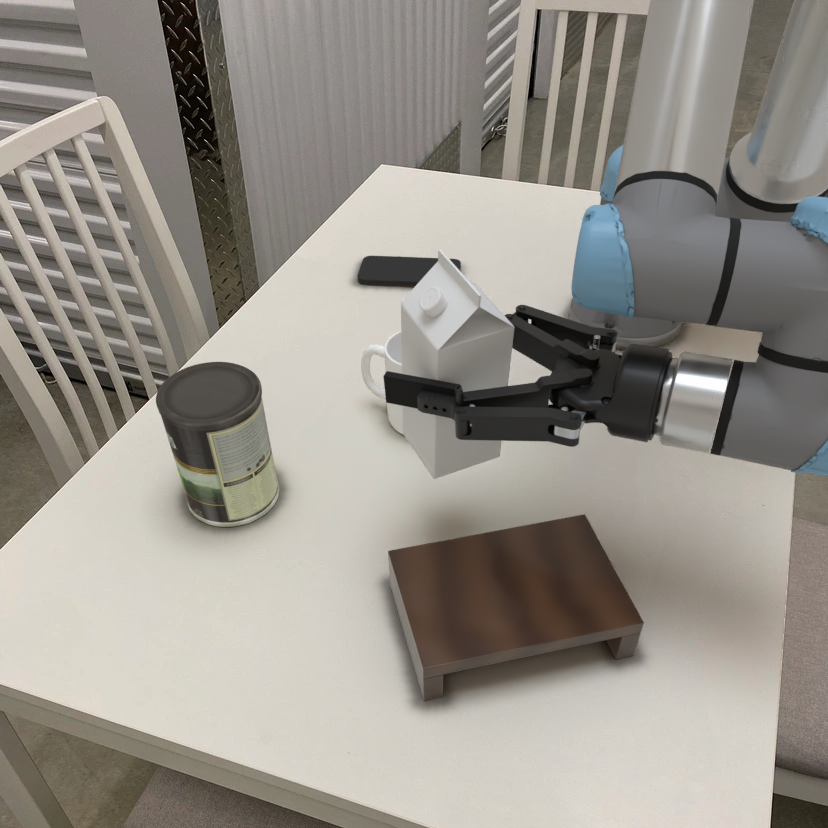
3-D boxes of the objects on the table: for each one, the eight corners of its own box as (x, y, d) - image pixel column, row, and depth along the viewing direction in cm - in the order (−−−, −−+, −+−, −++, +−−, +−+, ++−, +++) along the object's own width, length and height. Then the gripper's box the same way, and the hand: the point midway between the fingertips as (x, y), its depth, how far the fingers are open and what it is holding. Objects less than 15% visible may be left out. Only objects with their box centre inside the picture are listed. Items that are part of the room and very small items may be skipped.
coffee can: (182, 531, 87) (148, 427, 77) (192, 467, 94) (162, 364, 84) (279, 524, 88) (258, 420, 77) (281, 461, 95) (263, 357, 84)
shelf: (578, 548, 85) (584, 513, 81) (633, 655, 75) (644, 622, 72) (389, 584, 82) (387, 550, 78) (423, 701, 72) (423, 669, 69)
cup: (439, 447, 96) (440, 375, 88) (348, 422, 99) (342, 350, 92) (466, 407, 101) (468, 335, 93) (379, 384, 104) (374, 313, 97)
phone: (364, 254, 126) (461, 258, 124) (364, 260, 126) (461, 263, 125) (355, 279, 121) (457, 283, 119) (356, 284, 121) (457, 288, 120)
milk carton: (466, 412, 82) (477, 239, 67) (500, 458, 78) (520, 283, 63) (402, 433, 80) (399, 259, 66) (433, 481, 76) (438, 307, 62)
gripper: (629, 524, 62) (362, 464, 68) (681, 361, 76) (455, 325, 82) (643, 446, 56) (351, 389, 63) (696, 286, 70) (453, 254, 77)
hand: (410, 353), depth 73 cm, fingers closed on milk carton, 10 cm apart
